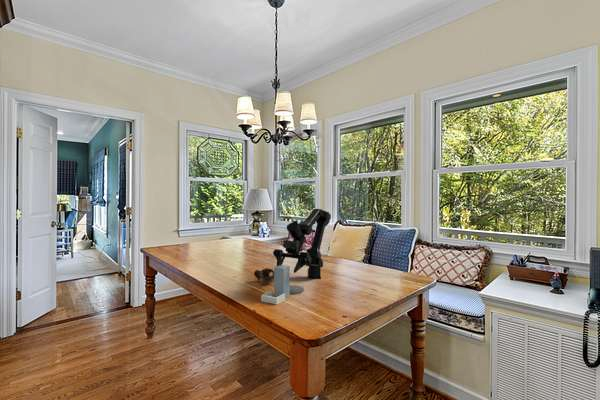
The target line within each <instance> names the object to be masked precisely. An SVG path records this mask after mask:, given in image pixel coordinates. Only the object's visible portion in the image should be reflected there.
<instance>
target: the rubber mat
mask: <svg viewBox="0 0 600 400" xmlns="http://www.w3.org/2000/svg"><path fill="white" fill-rule="evenodd" d="M304 291H305V288H304V287H303V286H301V285H295V284H292V285H291V284H290V295H298V294H302V293H304Z"/></svg>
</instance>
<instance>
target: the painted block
mask: <svg viewBox="0 0 600 400" xmlns="http://www.w3.org/2000/svg"><path fill="white" fill-rule="evenodd" d="M273 271H274V280H273V281H274V282H273V283H274V284H273V297H278V296H280V295H282V294H283V293H285V298H286V297H289V296H291V294H290V285H291V284H290V283H291V282H290V275H291V274H290V273H291V272H290V266H289V265H283V264H282V265H279V266H277V265H276V266H274V267H273Z"/></svg>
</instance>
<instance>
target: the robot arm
mask: <svg viewBox="0 0 600 400" xmlns="http://www.w3.org/2000/svg"><path fill="white" fill-rule="evenodd" d="M331 218H332V214H331V213H330V212H329V211H326V210H324V209H322V208H313V209H312V211H311V213H309V215H308V216H307V218H306V219H305V220H302V221H300V222H298V221H297V220H293V221H292V222H290V223H288V224H287V225H286V230H287V231H288V233H289V235H290V237H291V239H292V240H288V239H287V240H285V239H284V240H283V244H282V248H284V249H285V252H284V251H283V250H282V249H278V248H277V249H276V248H274V250H273V252H272V254H273V256H274V257H275V259H276V266H279V265H283V263H284V262H285V259H286V258H289V259H294V260H295V259H296V260H297V261H296V264H295V266H294V269H293V273H294V274H295V273H297V272H298V271H299V270H301V268H303V267H305V266H306V267H308V268H307V277H308V279H309V280H310V279H311V280H313V279H314V280H315V279H321V278H322V277H321V276H322V275H321V269H322V268H323V267H324V260H323V258H322V252H321V251H320V250H321V246H322V242H323V238H324V232H325V228H326V226H328V225H329V224H330V220H331ZM315 224H316V227H315V230H314V235H313V239H312V243H311V247H310V248H307V249H306V251H304V250H303V247H304V245H305V243H307V242H308V241H307V237H306V236H310V235H311V233H312V231H313V226H314V225H315Z"/></svg>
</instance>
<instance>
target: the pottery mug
mask: <svg viewBox="0 0 600 400" xmlns="http://www.w3.org/2000/svg"><path fill="white" fill-rule="evenodd" d="M271 273H272V275H270V274H271ZM253 274H254V277H255V278H257V280H258V281H261V282H260V283H261V285H263V286H264V285H265V284H268V283H271V282H273V281H274V269H273V268H272V269H271V268H269V267H267V268H266V267H265V268H263V269H261V270H258V269H256V270H255V271H254V273H253Z"/></svg>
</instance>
